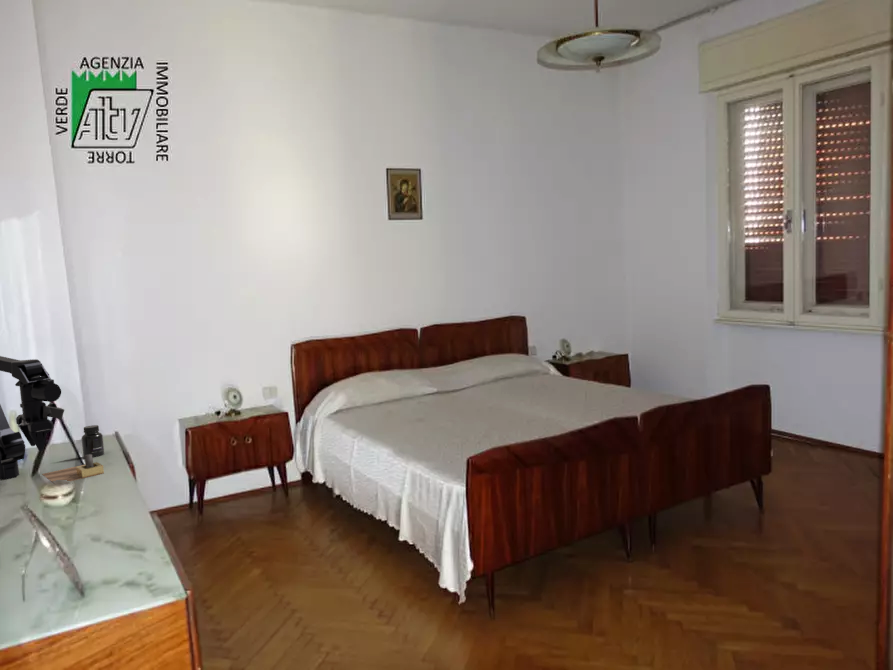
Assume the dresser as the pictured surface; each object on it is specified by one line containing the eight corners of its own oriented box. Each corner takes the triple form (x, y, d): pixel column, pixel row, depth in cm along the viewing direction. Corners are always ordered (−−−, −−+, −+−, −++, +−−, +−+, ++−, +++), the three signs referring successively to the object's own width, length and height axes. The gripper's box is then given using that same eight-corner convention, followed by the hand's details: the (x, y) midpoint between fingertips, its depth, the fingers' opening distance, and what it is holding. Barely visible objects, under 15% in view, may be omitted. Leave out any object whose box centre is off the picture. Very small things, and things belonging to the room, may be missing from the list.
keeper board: (42, 478, 229) (39, 456, 228) (88, 468, 238) (85, 446, 238) (56, 489, 216) (53, 465, 215) (104, 477, 225) (102, 455, 224)
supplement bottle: (99, 461, 246) (95, 428, 245) (80, 462, 246) (75, 429, 245) (108, 456, 253) (105, 423, 252) (90, 457, 253) (86, 424, 252)
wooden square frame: (76, 474, 226) (75, 466, 226) (98, 469, 230) (97, 462, 230) (82, 477, 221) (81, 470, 221) (103, 472, 226) (103, 465, 225)
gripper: (68, 399, 218) (73, 447, 220) (51, 392, 232) (56, 438, 233) (28, 405, 211) (34, 455, 212) (13, 398, 224) (18, 445, 226)
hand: (37, 448), depth 221 cm, fingers open, 9 cm apart
